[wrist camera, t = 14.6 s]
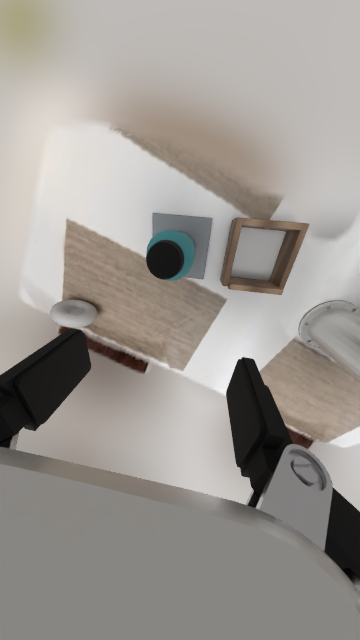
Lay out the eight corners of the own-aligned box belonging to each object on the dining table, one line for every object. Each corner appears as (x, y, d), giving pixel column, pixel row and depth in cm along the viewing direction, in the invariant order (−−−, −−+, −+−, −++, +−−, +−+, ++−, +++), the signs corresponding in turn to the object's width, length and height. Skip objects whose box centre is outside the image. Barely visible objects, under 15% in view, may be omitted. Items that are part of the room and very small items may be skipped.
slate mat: (212, 218, 32) (212, 218, 31) (203, 278, 38) (203, 279, 37) (153, 213, 33) (152, 213, 32) (153, 272, 38) (152, 273, 37)
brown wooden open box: (294, 225, 31) (317, 222, 25) (272, 285, 37) (286, 295, 30) (232, 220, 32) (239, 216, 26) (220, 280, 37) (224, 288, 31)
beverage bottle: (167, 229, 33) (130, 221, 15) (199, 233, 33) (198, 230, 15) (165, 262, 36) (132, 287, 18) (194, 266, 36) (189, 295, 18)
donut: (70, 304, 45) (38, 320, 36) (70, 293, 44) (37, 307, 35) (104, 316, 46) (81, 335, 37) (105, 306, 44) (82, 323, 35)
